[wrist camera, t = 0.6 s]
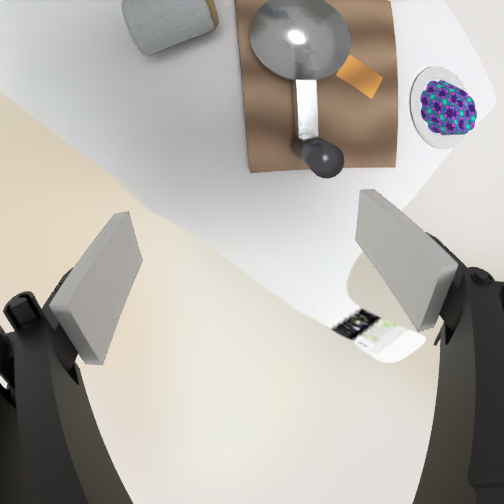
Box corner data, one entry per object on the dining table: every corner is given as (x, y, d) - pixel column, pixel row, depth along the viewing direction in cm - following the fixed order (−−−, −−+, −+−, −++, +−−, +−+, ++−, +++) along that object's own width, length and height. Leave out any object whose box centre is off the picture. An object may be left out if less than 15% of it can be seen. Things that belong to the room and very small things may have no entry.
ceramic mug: (223, 34, 24) (221, 15, 18) (153, 61, 25) (131, 52, 18) (195, -33, 19) (186, -62, 12) (128, -6, 20) (104, -27, 13)
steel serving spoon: (245, -2, 20) (251, -30, 13) (339, 3, 20) (371, -18, 14) (259, 160, 30) (268, 182, 23) (347, 156, 30) (379, 176, 23)
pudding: (442, 163, 33) (465, 174, 29) (392, 109, 30) (415, 113, 25) (477, 108, 29) (500, 114, 24) (432, 50, 25) (456, 48, 20)
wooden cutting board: (234, -8, 21) (234, -14, 19) (382, 4, 22) (390, 0, 20) (249, 168, 33) (250, 173, 31) (387, 163, 33) (395, 167, 31)
